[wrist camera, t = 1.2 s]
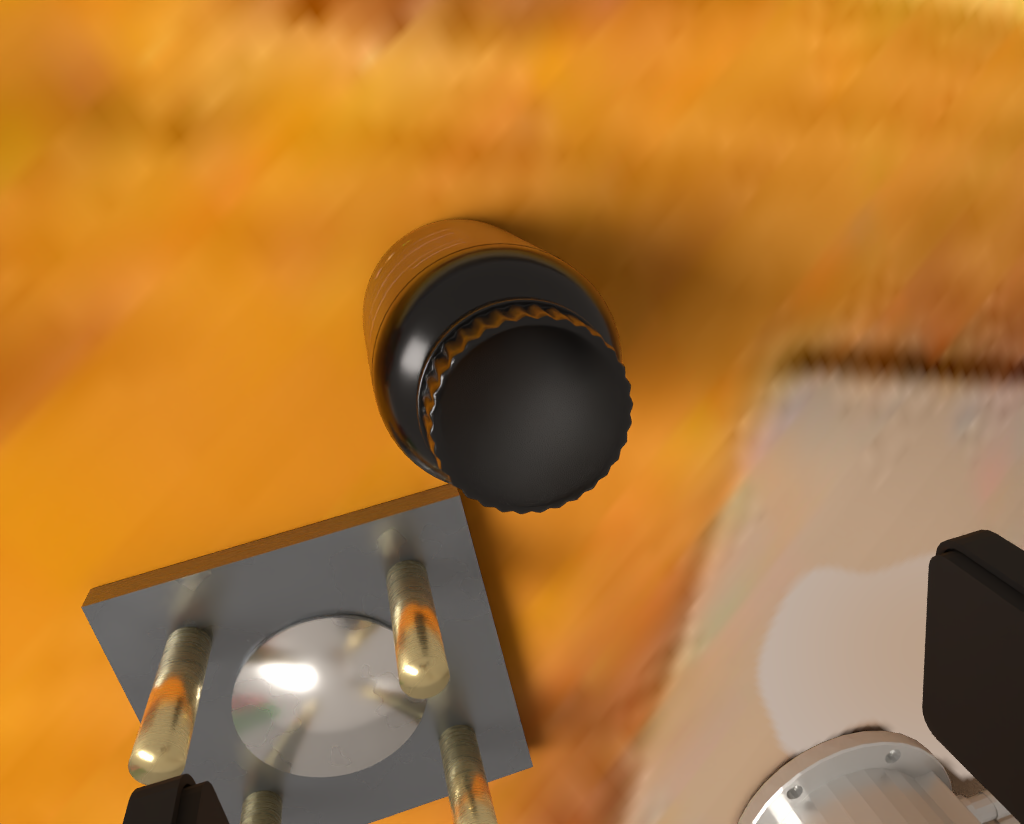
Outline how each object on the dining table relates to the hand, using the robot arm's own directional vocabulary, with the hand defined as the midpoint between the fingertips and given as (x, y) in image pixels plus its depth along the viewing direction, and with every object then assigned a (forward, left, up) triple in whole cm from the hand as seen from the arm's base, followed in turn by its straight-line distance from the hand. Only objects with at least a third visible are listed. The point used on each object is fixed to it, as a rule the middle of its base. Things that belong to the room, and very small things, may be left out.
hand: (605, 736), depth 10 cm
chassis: (+7, +13, -21) cm, 25 cm away
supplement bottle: (-1, -1, -21) cm, 21 cm away
